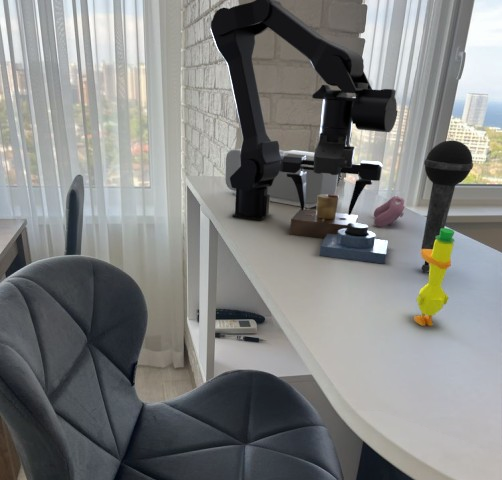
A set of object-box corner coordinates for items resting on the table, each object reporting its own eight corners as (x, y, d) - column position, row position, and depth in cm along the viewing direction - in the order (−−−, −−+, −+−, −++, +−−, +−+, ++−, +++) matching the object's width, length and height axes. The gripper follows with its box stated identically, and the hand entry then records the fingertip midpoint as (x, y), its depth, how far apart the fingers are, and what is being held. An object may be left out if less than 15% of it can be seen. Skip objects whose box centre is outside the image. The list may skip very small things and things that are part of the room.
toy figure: (398, 311, 66) (416, 220, 61) (424, 310, 67) (444, 220, 62) (421, 333, 60) (444, 235, 55) (449, 333, 61) (473, 235, 56)
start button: (344, 236, 87) (346, 226, 86) (346, 231, 90) (348, 221, 89) (366, 239, 86) (367, 229, 85) (367, 234, 89) (368, 224, 89)
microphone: (424, 281, 78) (455, 143, 69) (394, 267, 83) (418, 137, 74) (456, 276, 81) (489, 143, 72) (425, 263, 86) (452, 137, 77)
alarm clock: (334, 204, 126) (341, 154, 121) (318, 210, 119) (324, 157, 114) (243, 188, 139) (245, 143, 134) (224, 193, 132) (225, 145, 127)
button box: (319, 255, 87) (321, 235, 85) (326, 242, 95) (328, 223, 93) (384, 263, 84) (388, 243, 83) (386, 249, 92) (389, 230, 91)
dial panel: (289, 234, 98) (291, 218, 97) (299, 222, 107) (300, 207, 106) (351, 241, 96) (353, 225, 94) (355, 229, 105) (358, 214, 103)
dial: (314, 217, 99) (316, 195, 97) (317, 213, 102) (319, 191, 100) (334, 219, 98) (337, 197, 96) (336, 215, 101) (339, 193, 100)
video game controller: (390, 235, 107) (410, 207, 104) (372, 224, 107) (392, 195, 104) (388, 224, 116) (407, 198, 113) (371, 214, 116) (390, 187, 113)
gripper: (276, 126, 88) (270, 215, 95) (386, 134, 84) (371, 227, 91) (289, 123, 98) (283, 204, 105) (387, 130, 94) (374, 214, 101)
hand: (325, 212), depth 100 cm, fingers open, 9 cm apart
